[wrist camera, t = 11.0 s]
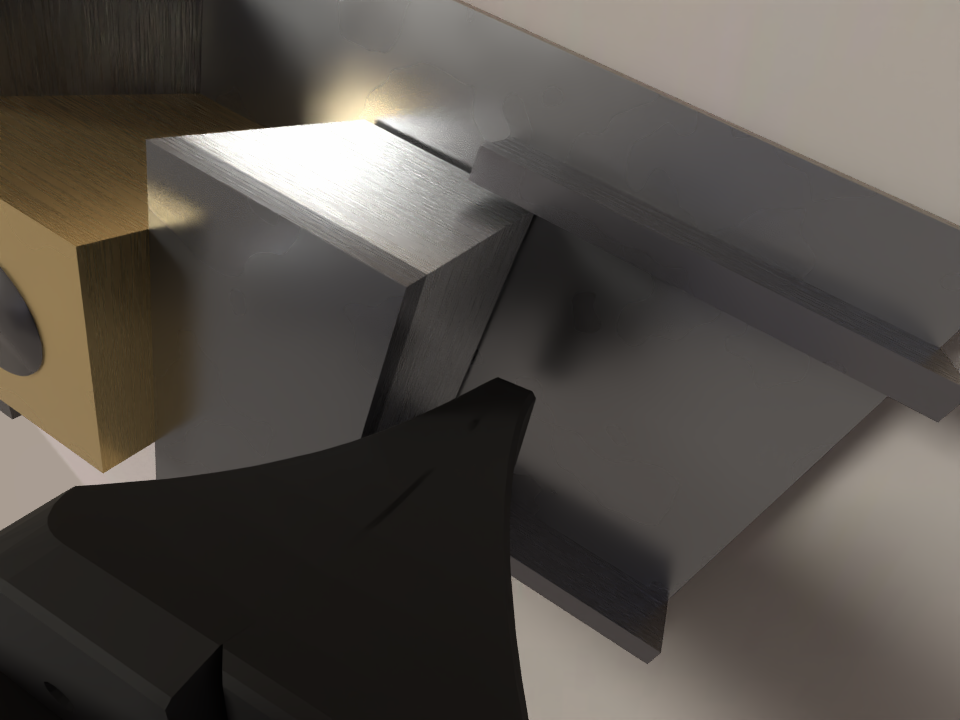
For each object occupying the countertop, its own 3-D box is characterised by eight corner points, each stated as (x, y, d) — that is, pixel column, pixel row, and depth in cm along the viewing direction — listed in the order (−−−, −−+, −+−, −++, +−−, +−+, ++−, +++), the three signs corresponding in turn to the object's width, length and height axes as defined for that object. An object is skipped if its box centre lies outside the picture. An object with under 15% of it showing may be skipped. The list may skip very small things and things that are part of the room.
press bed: (1003, 245, 8) (1377, 471, 3) (630, 609, 15) (580, 858, 10) (87, -168, 12) (-386, -353, 7) (119, 284, 18) (-105, 356, 13)
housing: (357, 177, 11) (72, 248, 6) (324, 337, 14) (100, 475, 9) (200, 93, 12) (-164, 99, 7) (195, 260, 15) (-77, 348, 10)
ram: (536, 207, 10) (406, 287, 6) (433, 450, 14) (314, 593, 10) (363, 119, 11) (146, 138, 7) (312, 375, 14) (155, 481, 11)
